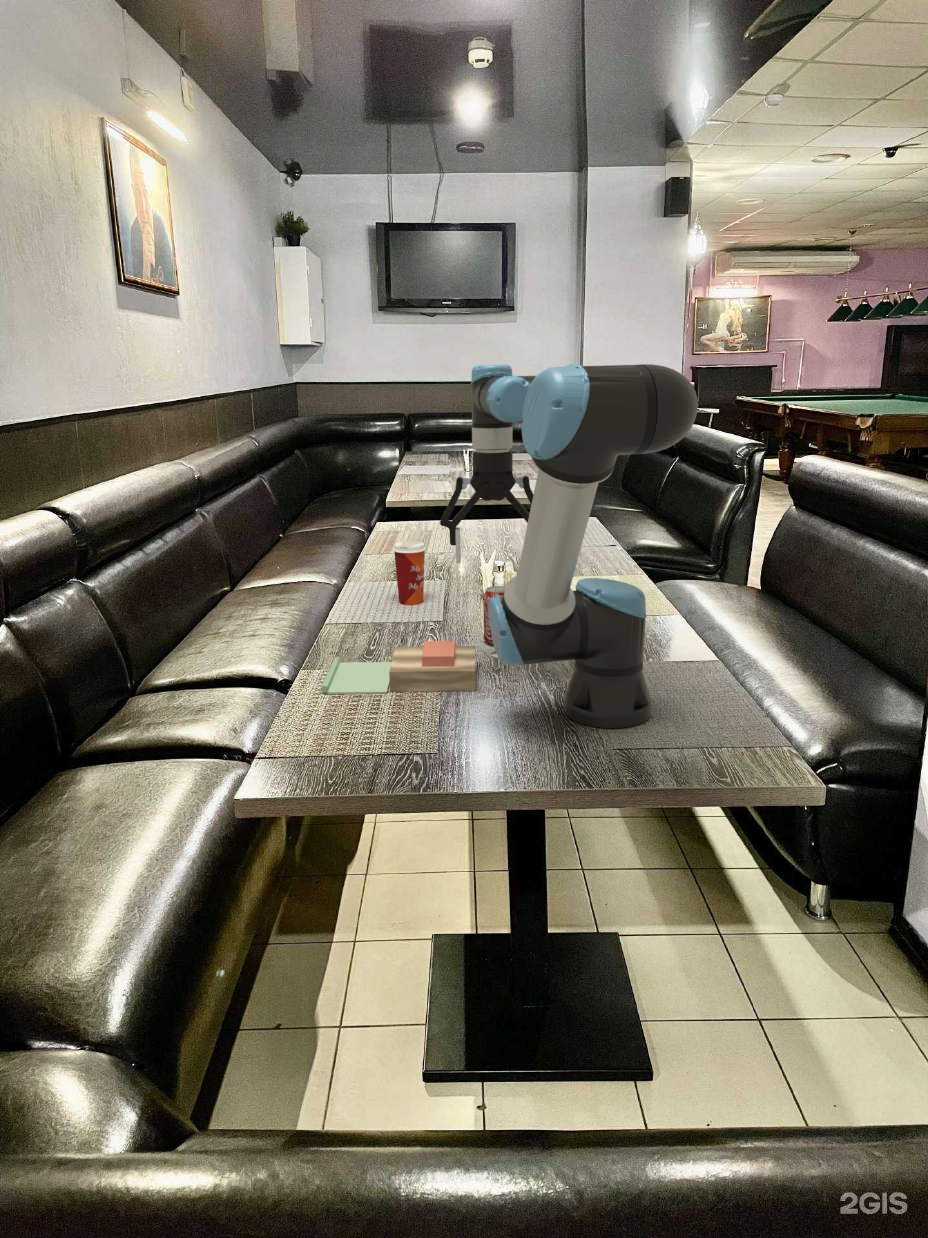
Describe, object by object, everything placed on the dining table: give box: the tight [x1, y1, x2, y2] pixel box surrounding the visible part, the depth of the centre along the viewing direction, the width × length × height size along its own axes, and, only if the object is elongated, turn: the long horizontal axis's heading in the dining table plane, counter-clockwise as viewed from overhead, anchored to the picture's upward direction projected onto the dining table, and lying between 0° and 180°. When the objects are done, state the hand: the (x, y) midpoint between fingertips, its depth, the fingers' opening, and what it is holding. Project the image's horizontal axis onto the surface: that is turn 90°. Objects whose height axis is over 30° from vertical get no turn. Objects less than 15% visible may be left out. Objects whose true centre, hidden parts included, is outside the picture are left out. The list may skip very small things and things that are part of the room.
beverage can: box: [482, 585, 506, 646], centre depth 188 cm, size 6×6×12 cm
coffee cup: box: [392, 540, 427, 606], centre depth 218 cm, size 8×8×15 cm
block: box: [422, 640, 456, 667], centre depth 168 cm, size 9×6×2 cm, turn 179°
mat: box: [321, 656, 392, 695], centre depth 170 cm, size 16×12×2 cm
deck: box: [389, 645, 477, 693], centre depth 169 cm, size 14×16×4 cm
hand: (493, 561), depth 169 cm, fingers open, 13 cm apart
